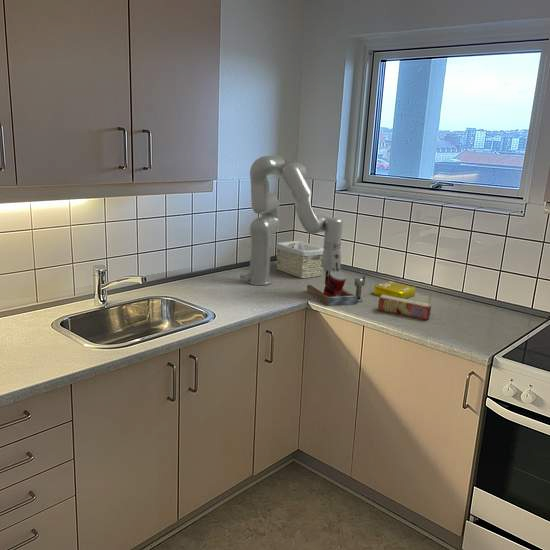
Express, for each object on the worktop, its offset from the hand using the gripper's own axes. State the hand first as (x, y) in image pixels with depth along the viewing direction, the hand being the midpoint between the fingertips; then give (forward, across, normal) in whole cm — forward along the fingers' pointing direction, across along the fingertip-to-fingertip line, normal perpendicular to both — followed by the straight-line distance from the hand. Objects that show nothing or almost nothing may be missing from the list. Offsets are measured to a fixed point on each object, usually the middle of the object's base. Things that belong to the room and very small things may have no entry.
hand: (328, 285), depth 252 cm
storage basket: (+5, +39, -4) cm, 40 cm away
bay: (+5, -3, 0) cm, 6 cm away
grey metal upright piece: (+5, -12, -9) cm, 15 cm away
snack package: (+5, -32, -19) cm, 37 cm away
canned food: (+4, -4, 0) cm, 5 cm away
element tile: (+5, -7, -32) cm, 33 cm away
